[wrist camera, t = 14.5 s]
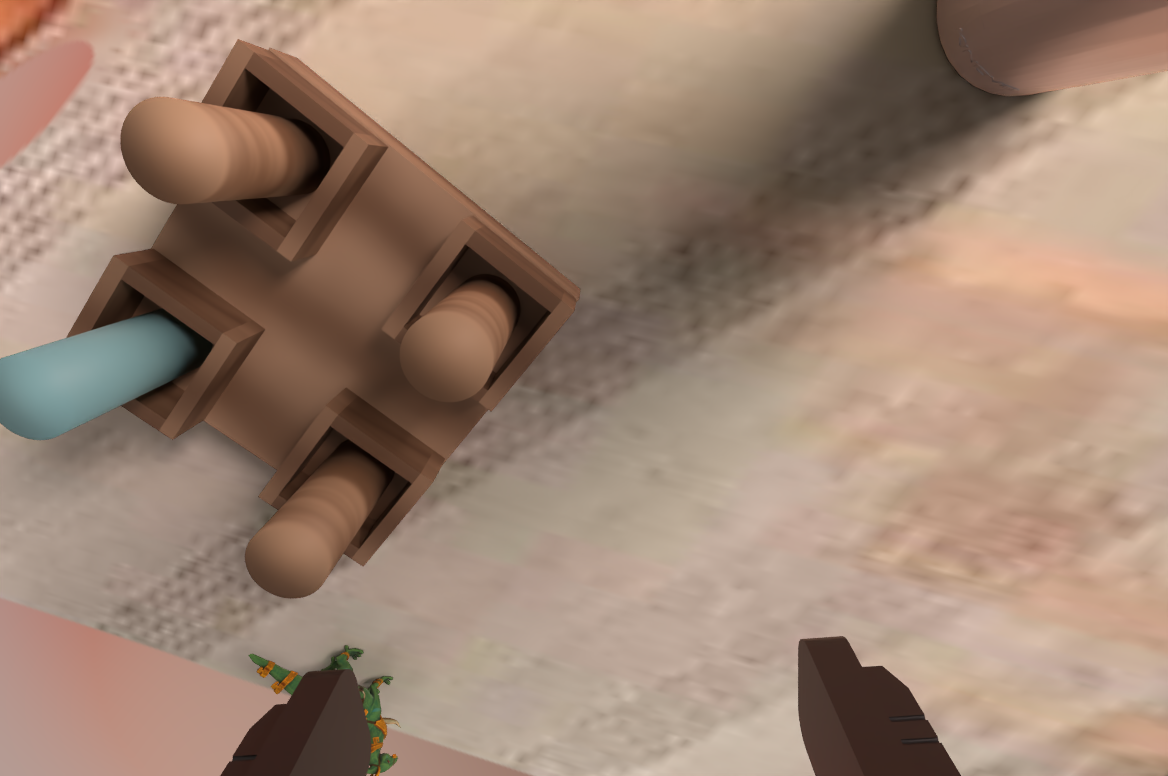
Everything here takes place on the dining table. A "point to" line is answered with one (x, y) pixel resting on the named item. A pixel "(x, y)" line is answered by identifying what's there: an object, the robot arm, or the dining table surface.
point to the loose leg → (94, 372)
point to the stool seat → (322, 304)
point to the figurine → (368, 697)
